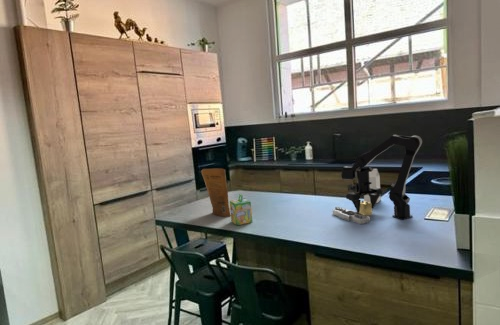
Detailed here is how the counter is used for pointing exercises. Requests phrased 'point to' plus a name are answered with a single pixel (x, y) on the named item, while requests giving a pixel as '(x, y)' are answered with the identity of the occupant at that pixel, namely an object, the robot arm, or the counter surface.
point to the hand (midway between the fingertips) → (365, 210)
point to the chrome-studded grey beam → (354, 216)
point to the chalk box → (241, 211)
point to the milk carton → (373, 183)
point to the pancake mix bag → (217, 190)
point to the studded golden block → (365, 208)
